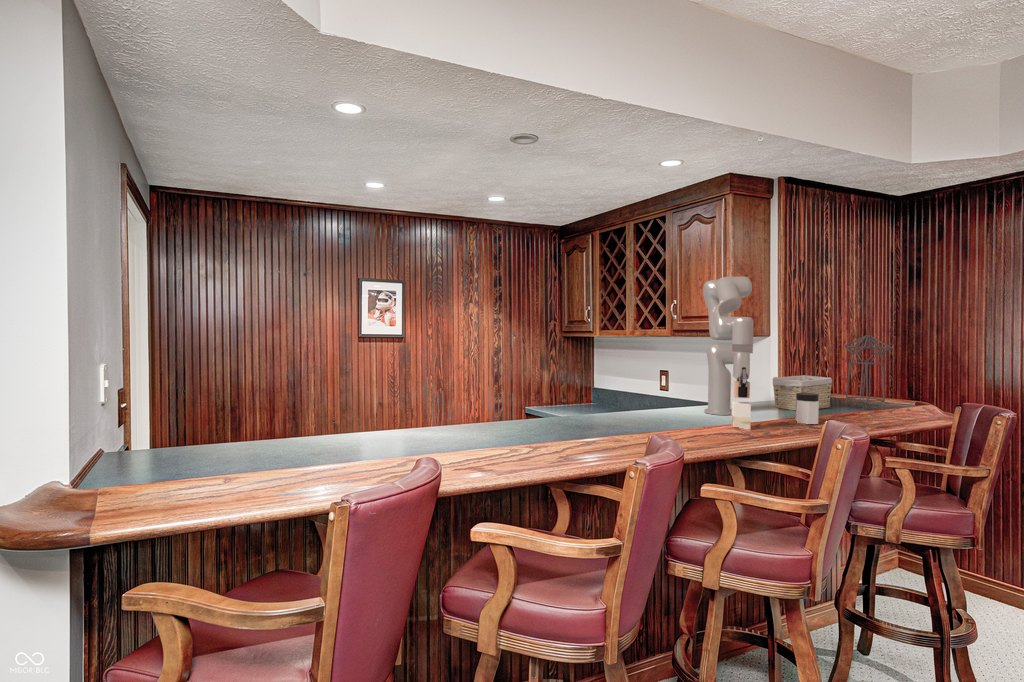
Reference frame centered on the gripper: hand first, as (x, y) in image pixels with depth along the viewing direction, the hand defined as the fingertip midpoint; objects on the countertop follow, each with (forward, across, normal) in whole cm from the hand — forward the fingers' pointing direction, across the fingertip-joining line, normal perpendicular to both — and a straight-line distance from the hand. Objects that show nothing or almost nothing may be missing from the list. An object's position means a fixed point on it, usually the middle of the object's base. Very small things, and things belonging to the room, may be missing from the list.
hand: (741, 395), depth 223 cm
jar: (+13, -19, +28) cm, 36 cm away
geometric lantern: (+13, -69, +66) cm, 96 cm away
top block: (+1, 0, 0) cm, 1 cm away
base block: (+13, 0, 0) cm, 13 cm away
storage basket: (+13, -63, +36) cm, 74 cm away
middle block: (+8, 0, 0) cm, 8 cm away
